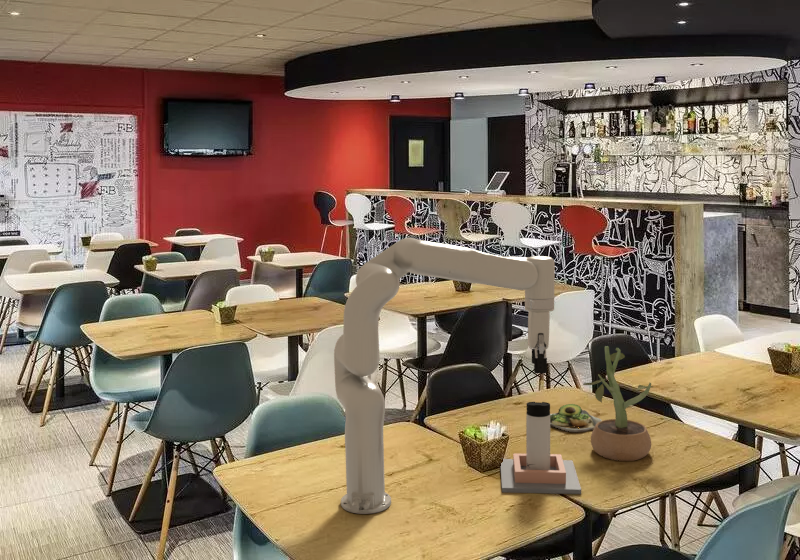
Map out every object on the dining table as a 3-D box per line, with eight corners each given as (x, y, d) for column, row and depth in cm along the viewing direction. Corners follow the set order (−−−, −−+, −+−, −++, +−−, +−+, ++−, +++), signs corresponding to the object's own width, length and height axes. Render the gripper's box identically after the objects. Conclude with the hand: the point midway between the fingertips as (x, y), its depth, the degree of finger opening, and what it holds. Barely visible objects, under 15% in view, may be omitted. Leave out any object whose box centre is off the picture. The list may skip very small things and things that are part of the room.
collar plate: (581, 494, 199) (581, 478, 198) (502, 492, 201) (502, 476, 201) (572, 464, 219) (572, 450, 218) (500, 462, 221) (500, 448, 220)
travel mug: (525, 477, 207) (525, 404, 204) (527, 468, 213) (526, 397, 210) (549, 479, 206) (550, 405, 203) (550, 469, 212) (550, 398, 209)
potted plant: (666, 456, 223) (669, 354, 219) (615, 467, 216) (617, 361, 212) (616, 432, 244) (618, 338, 239) (567, 441, 237) (568, 344, 233)
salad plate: (619, 429, 248) (619, 415, 247) (575, 439, 240) (576, 424, 239) (577, 412, 265) (578, 399, 264) (535, 421, 256) (536, 408, 256)
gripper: (523, 298, 212) (522, 360, 214) (526, 310, 195) (526, 376, 197) (551, 298, 211) (550, 360, 214) (557, 310, 194) (556, 377, 197)
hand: (539, 368), depth 205 cm, fingers open, 9 cm apart
